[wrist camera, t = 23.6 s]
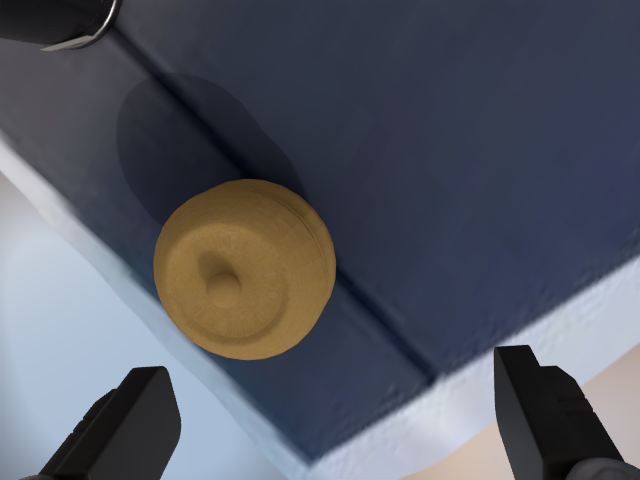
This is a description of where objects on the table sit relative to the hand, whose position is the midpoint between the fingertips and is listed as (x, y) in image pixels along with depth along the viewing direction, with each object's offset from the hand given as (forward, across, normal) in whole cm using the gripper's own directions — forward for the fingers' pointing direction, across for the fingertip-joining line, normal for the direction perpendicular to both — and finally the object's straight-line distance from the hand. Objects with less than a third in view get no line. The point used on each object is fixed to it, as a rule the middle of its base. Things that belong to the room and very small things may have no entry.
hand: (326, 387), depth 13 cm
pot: (+26, +8, +6) cm, 28 cm away
